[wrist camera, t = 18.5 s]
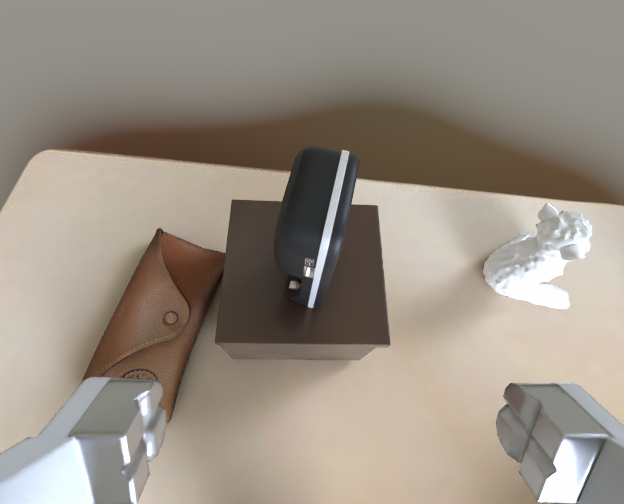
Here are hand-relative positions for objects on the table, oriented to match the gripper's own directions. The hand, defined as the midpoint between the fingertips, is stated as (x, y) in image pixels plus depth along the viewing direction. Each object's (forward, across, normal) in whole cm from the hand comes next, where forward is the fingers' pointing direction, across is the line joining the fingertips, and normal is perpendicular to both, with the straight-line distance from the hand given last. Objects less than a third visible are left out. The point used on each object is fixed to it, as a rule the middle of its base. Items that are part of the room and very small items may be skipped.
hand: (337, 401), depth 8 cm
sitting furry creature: (+30, -24, +9) cm, 40 cm away
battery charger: (+20, 0, +5) cm, 20 cm away
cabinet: (+27, 0, +12) cm, 29 cm away
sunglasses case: (+25, +14, +14) cm, 32 cm away
